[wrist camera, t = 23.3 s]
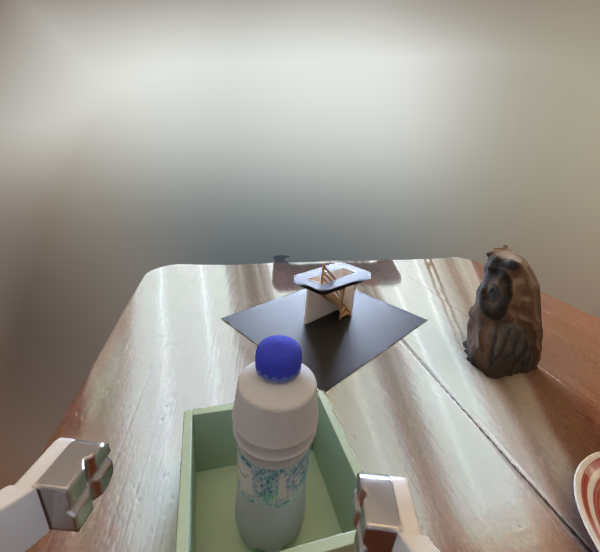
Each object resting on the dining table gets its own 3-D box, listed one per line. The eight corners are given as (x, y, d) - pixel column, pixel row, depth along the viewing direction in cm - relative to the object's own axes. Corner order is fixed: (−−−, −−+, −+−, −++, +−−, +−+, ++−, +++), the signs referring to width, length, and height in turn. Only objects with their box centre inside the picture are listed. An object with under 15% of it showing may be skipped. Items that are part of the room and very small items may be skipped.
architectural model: (324, 392, 48) (335, 308, 43) (221, 318, 66) (219, 252, 61) (427, 320, 72) (442, 259, 67) (330, 279, 90) (336, 229, 84)
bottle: (232, 493, 33) (230, 319, 25) (297, 483, 34) (314, 316, 27) (233, 574, 26) (231, 377, 19) (312, 557, 28) (339, 369, 20)
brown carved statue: (488, 382, 53) (529, 269, 46) (435, 340, 64) (460, 243, 57) (541, 370, 57) (586, 264, 50) (482, 332, 68) (512, 241, 61)
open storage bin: (182, 668, 22) (172, 596, 19) (189, 473, 35) (184, 410, 32) (372, 601, 26) (392, 532, 23) (316, 448, 39) (323, 390, 36)
